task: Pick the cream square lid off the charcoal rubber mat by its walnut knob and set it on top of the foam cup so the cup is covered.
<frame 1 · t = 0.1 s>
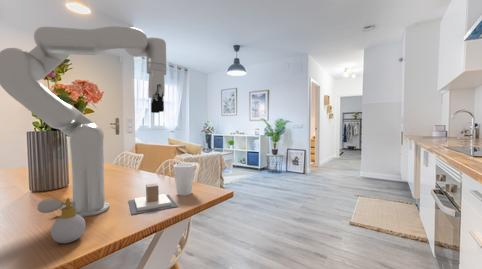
hand: (157, 112, 92), 37 cm above the table, tool pointing down, fingers open, 9 cm apart
mat: (152, 204, 89), on the table
lid: (152, 194, 89), on the mat
foam cup: (184, 193, 104), on the table
perfume bottle: (64, 242, 60), on the table
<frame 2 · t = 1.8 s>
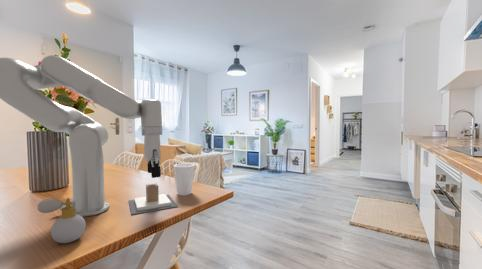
hand: (154, 174, 89), 12 cm above the table, tool pointing down, fingers open, 9 cm apart
nothing on the table moved.
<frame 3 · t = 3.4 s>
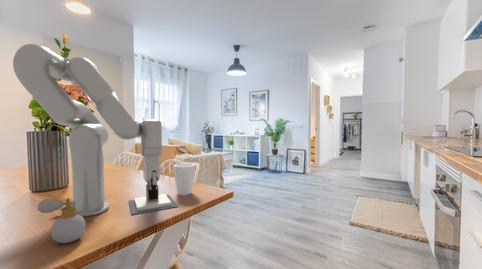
hand: (152, 197, 89), 3 cm above the table, tool pointing down, fingers closed on lid, 4 cm apart
lid: (152, 194, 89), on the mat, touching gripper
everything else where it was.
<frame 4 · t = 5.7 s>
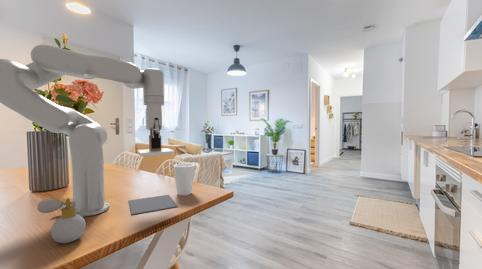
hand: (155, 147, 89), 22 cm above the table, tool pointing down, fingers closed on lid, 4 cm apart
lid: (155, 144, 89), point 24 cm above the table, touching gripper
everything else where it was.
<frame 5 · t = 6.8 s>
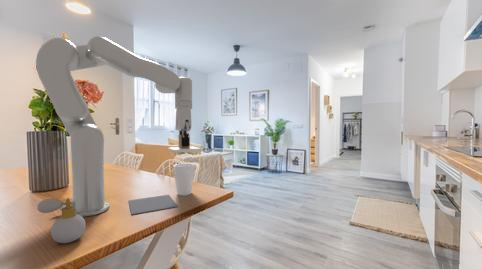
hand: (184, 145, 103), 22 cm above the table, tool pointing down, fingers closed on lid, 4 cm apart
lid: (184, 142, 102), point 23 cm above the table, touching gripper
everything else where it was.
when the fingers open (17 cm above the table, at t = 8.0 s): lid drops 1 cm, resting on foam cup.
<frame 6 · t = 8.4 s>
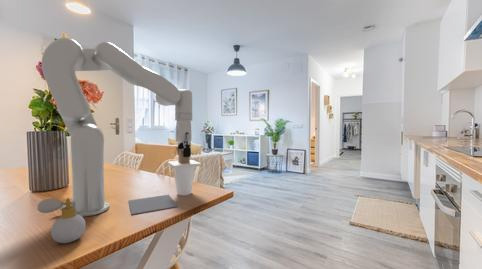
hand: (184, 155, 103), 17 cm above the table, tool pointing down, fingers open, 8 cm apart
lid: (184, 157, 103), point 17 cm above the table, touching foam cup
foam cup: (184, 193, 104), on the table, touching lid
everything else where it was.
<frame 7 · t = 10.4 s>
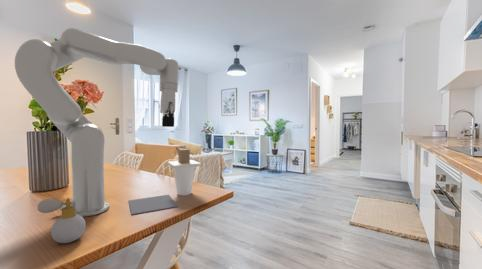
hand: (167, 126, 100), 31 cm above the table, tool pointing down, fingers open, 9 cm apart
nothing on the table moved.
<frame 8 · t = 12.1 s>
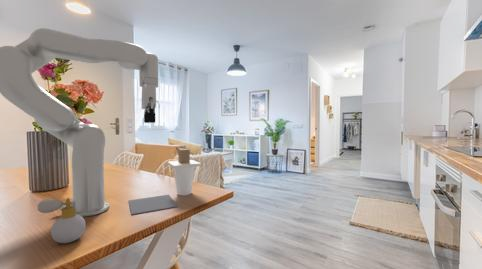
hand: (149, 122, 99), 32 cm above the table, tool pointing down, fingers open, 9 cm apart
nothing on the table moved.
at the end: lid 0.1 cm off-centre on the foam cup, point 16.8 cm above the foam cup's base; foam cup tilted 0°; the gripper is holding nothing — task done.
